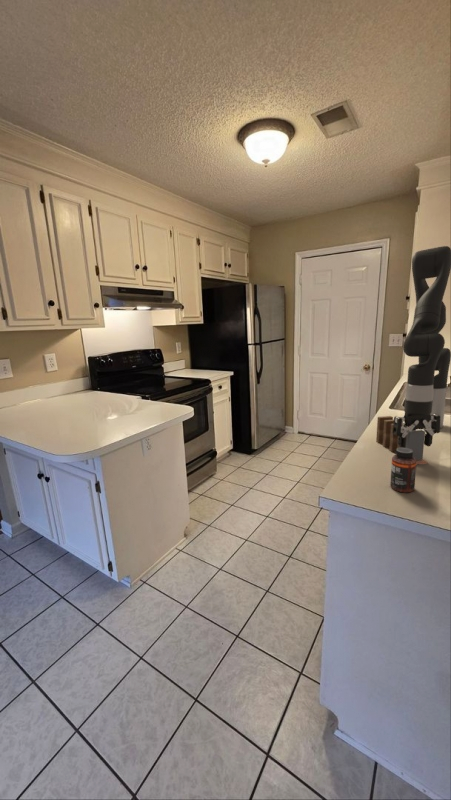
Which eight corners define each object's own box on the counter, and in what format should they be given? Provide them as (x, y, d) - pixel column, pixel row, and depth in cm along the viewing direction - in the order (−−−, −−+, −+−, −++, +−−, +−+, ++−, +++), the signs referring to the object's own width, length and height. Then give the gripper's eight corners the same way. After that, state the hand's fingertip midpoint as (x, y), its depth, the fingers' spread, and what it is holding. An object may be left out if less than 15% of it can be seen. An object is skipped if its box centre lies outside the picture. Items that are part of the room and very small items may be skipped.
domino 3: (389, 450, 117) (391, 423, 114) (402, 449, 117) (404, 422, 115) (391, 452, 115) (393, 425, 113) (405, 451, 115) (407, 424, 113)
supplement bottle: (413, 485, 92) (416, 447, 90) (415, 495, 87) (418, 455, 84) (389, 481, 95) (392, 444, 92) (390, 491, 89) (392, 452, 87)
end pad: (399, 458, 109) (399, 457, 109) (417, 457, 110) (417, 456, 110) (408, 465, 105) (408, 464, 105) (427, 463, 105) (427, 462, 105)
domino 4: (422, 460, 106) (425, 431, 104) (407, 461, 106) (409, 432, 104) (419, 458, 108) (421, 430, 106) (404, 459, 108) (406, 431, 105)
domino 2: (382, 446, 121) (384, 420, 119) (395, 445, 121) (397, 419, 119) (384, 447, 119) (386, 421, 117) (398, 446, 120) (400, 420, 117)
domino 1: (376, 441, 125) (377, 416, 123) (388, 440, 126) (390, 415, 123) (378, 443, 124) (379, 418, 122) (391, 442, 124) (392, 417, 122)
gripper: (432, 394, 106) (427, 441, 110) (390, 396, 106) (386, 444, 109) (449, 399, 99) (443, 449, 103) (403, 402, 98) (400, 452, 102)
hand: (414, 446), depth 106 cm, fingers open, 8 cm apart
